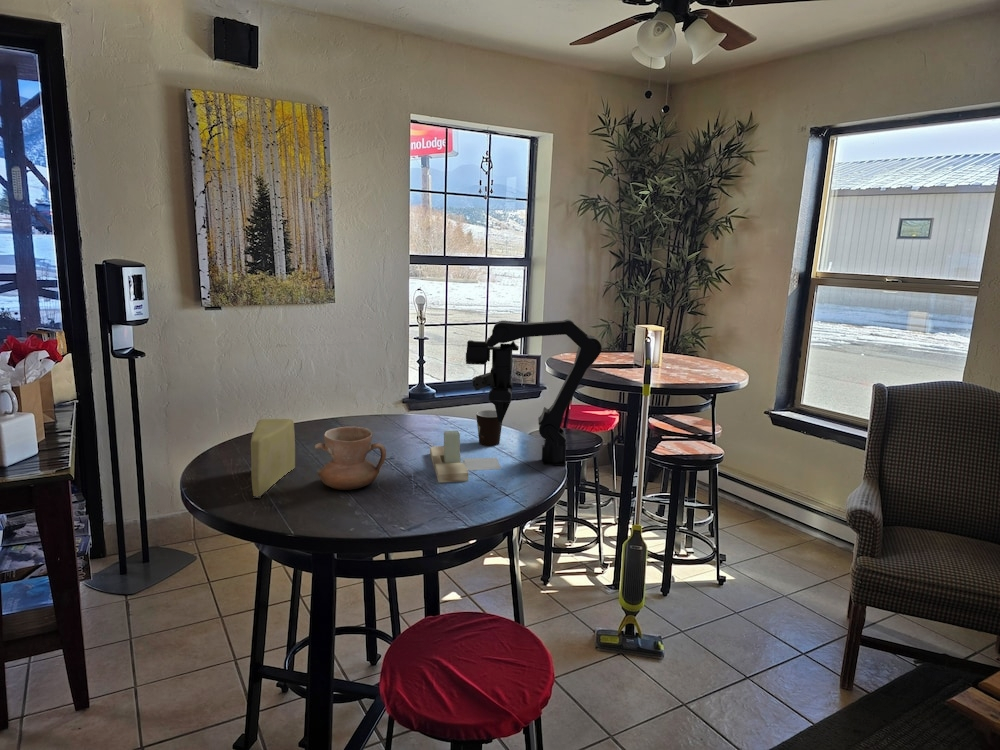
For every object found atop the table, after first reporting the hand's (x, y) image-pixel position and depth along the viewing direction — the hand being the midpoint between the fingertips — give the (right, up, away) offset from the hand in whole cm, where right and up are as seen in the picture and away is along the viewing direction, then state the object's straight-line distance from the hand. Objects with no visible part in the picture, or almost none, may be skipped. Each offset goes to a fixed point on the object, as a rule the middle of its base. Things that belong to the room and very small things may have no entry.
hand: (500, 417), depth 187 cm
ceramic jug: (-39, -17, -18) cm, 46 cm away
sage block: (-14, -14, -4) cm, 20 cm away
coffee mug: (-3, -9, +19) cm, 22 cm away
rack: (-14, -14, -4) cm, 20 cm away
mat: (-5, -14, -2) cm, 15 cm away
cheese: (-61, -16, -19) cm, 66 cm away
